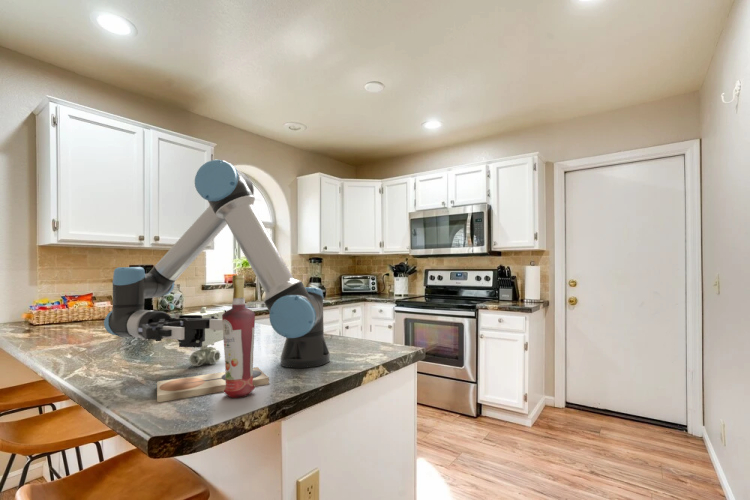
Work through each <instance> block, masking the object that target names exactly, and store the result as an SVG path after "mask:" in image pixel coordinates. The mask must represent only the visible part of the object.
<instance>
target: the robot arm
mask: <svg viewBox="0 0 750 500" xmlns="http://www.w3.org/2000/svg"><path fill="white" fill-rule="evenodd" d="M194 187H195V190H196V192H197V194H198V195H199V196H200V197H201V198H203V199H204V200H206V201H208V203H209V205H208V206H207V208H206V209H205V211H204V212H202V214H200V215H199V217H198V218H197V219H196V220H195V221H194V222H193V223H192V224H191V226H190V227H189V228H188V229H187V230H186V231H185V232H184V233H183V235H182V236H180V237H179V239H178V240H177V241H176V242H175V244H173V246H171V248H170V249H169V250H167V252H166V253H165V254H164V255H163V256H162V257H161V259H160V260H159V261H158V262H157V263H156V264H155V265H154V266H153V267H152V268H151V270H150V271H149V272H148V273H146V272H145V269H144V267H141V266H140V267H139V266H129V267H128V266H127V267H126V266H125V267H123V266H121V267H120V266H119V267H116V268H114V270H113V275H112V282H111V283H112V309H111V311H109V312H108V313H107V314H106V316H105V318H104V320H103V326H104V329H105V331H106V332H107V333H109V334H110V335H112V336H118V337H120V338H121V337H122V338H137V339H141V340H142V341H146V340H154V341H155V342H161V341H162V340H163V339H167V340H169V339H170V340H177V341H178V340H183V339H184V332H185V331H186V330H188V329H209V328H210V330H223V320H221V319H218V318H214V316H212V317H211V318H179V317H178V318H177V317H171V315H169V313H167V312H166V311H163V310H151V309H150V310H148V309H145V299H152V298H154V299H155V298H162V297H164V296H167V295H169V294H171V292H172V291H173V290H174V287H175V282H176V281H177V280H178V279H179V278H180V276H181V275H182V274H183V273H184V272H185V271H186V270H187V269H188V268H189V266H191V265H192V263H193V262H194V261H195V260H196V259H197V257H199V256H200V255H201V253H203V251H204V250H205V249H206V248H207V247H209V245H210V243H212V242H213V240H215V238H216V237H217V236H218V235H219V234H220V232H222V231H223V229H224V228H225V227H226V226H228V228H229V230H230V232H231V233H232V235H233V237H234V239H235V241H236V242H237V244H238V246H239V248H240V250H241V252H242V254H243V255H244V257H245V258H246V260H247V262H248V264H249V266H250V268H251V269H252V272H253V273H254V274H255V277H256V279H257V280H258V282H259V284H260V286H261V287H262V290H263V291H264V293H265V295H264V299H263V302H264V304H265V306H266V308H267V310H268V312H269V314H268V315H269V322H270V326H271V328H272V329H273V330H274V331H275V333H277V334H278V335H279V336H281V337H284V338H285V342H284V344H283V348H282V351H281V354H280V365H281V366H283V367H284V368H285V367H286V368H294V369H301V368H302V369H304V368H305V369H307V368H314V367H315V368H316V367H319V366H323V365H326V364H328V363H330V359H331V358H330V356H331V355H330V350H329V348H328V345H327V342H326V340H325V335H324V329H325V328H324V325H325V324H324V292H323V290H322V288H320V287H319V288H318V287H311V286H310V287H305V285H304V284H303V282H302V280H300V279H295V278H294V277H293V275H292V273H291V272H290V270H289V268H288V266H287V264H286V262H285V261H284V258H283V257H282V255H281V253H280V252H279V250H278V249H277V246H276V244H275V243H274V241H273V239H272V237H271V236H270V234H269V232H268V230H267V229H266V227H265V225H264V223H263V222H262V220H261V218H260V216H259V213H257V211H256V209H255V207H254V202H255V200H256V198H255V196H254V195H255V194H254V192H255V189H254V185H253V182H252V180H251V179H250V177H249V176H247V174H245V173H244V172H242V171H240V169H238V168H237V167H236V166H235V165H233V164H232V163H231V162H228V161H226V160H222V159H213V160H209V161H207V162H204V163H203V164H202V165H201V166H200V167H199V168H198V170H197V171H196V174H195V176H194ZM180 321H181V322H180ZM181 325H182V327H181Z"/></svg>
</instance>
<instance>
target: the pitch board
mask: <svg viewBox="0 0 750 500" xmlns="http://www.w3.org/2000/svg"><path fill="white" fill-rule="evenodd" d="M156 384H157V385H156V396H157V397H156V402H157V403H162V402H167V401H169V402H170V401H172V400H173V401H174V400H179V399H180V400H181V399H185V398H191V397H198V396H203V395H208V394H209V395H210V394H215V393H222V392H224V390H225V388H226V376H225V371H221V372H214V373H208V374H207V373H206V374H200V375H193V376H187V377H180V378H172V379H166V380H160V381H158V380H157V382H156ZM268 384H270V377H269V376H268V375H267V374H266V373H265V372H264V371H262V369H261V368H259V366H255V367H254V366H253V385H254V387H256V386H264V385H268Z"/></svg>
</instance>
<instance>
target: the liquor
mask: <svg viewBox="0 0 750 500" xmlns="http://www.w3.org/2000/svg"><path fill="white" fill-rule="evenodd" d="M232 286H233V294H232V305H231V308H230V309H228V310H226V312H225V313H224V314H223V315H222V320H223V340H222V341H223V349H224V350H223V351H224V369H225V371H224V372H225V376H226V388H225V390H224V391H223V392H224V394H225V395H226V396H228V397H229V398H231V399H240V398H245V397H247V396H249V395H250V394H251V393H252V392H253V391H254V390H255V388H256V386H254V385H253V368H254V348H255V346H254V345H255V329H256V328H255V323H256V322H255V321H256V312H254V311H253V310H252V309H250V308H247V307H246V302H245V301H246V300H245V289H244V288H245V287H244V286H245V275H244V274H239V275H232Z"/></svg>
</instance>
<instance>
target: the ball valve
mask: <svg viewBox="0 0 750 500" xmlns="http://www.w3.org/2000/svg"><path fill="white" fill-rule="evenodd" d="M200 309H201V311H196V312H192V313H185V314H180V315H179V316H178V318H211V317H212V316H214V318H218V319H221V320H222V315H223V314H224V313H225V312H226V311H227V310H225V309H224V310H223V309H222V310H220V309H219V310H218V309H217V310H215V309H214V310H210V309H209V310H208V309H207V306H203V307H201V308H200ZM180 322H181V321H180ZM181 327H182V325H181ZM177 341H178V346H179V348H200V349H199V350H195V351H193V352H192V353H191V354H190V356H189V358H188V361H189V363H190V364H191V366H194V367H200V366H202V365H214V364H216V363H218V362H219V361H220V360H221V352H220V351H219V350H217V348H216V347H212V346H214V345H215V343H218V342H221V341H224V340H223V330H210V328H209V329H188V330H186V331H185V332H184V339H183V340H177ZM210 345H211V346H210Z"/></svg>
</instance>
